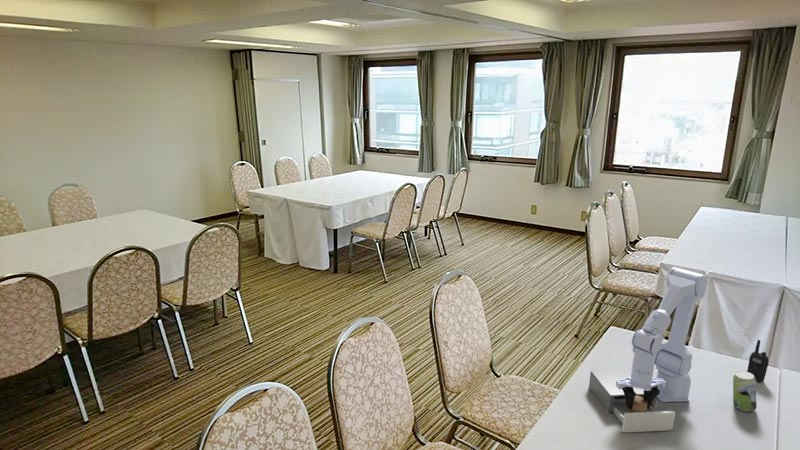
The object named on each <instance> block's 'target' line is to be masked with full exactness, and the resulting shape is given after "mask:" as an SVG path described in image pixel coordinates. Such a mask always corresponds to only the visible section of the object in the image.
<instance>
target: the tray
mask: <svg viewBox="0 0 800 450" xmlns="http://www.w3.org/2000/svg"><path fill="white" fill-rule="evenodd" d="M612 413H613V414H614V415H615V416H616V418H617V419H618V420H619V421H620V423H621V424H622V427H621V431H622V433H639V432H656V431H657V432H659V431H661V432H662V431H673V427H674V422H675V416H676V412H675V411H674V410H664V411H663V410H661V411H659V410H658V411H657V410H654V409H653V408H652V406H651V405H650V406H649V408H648V409H647V410H646V412H633V413H630V412H629V411H628V407H627V406H626V400H625V397H614V403H613V410H612Z"/></svg>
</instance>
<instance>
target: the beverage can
mask: <svg viewBox="0 0 800 450" xmlns="http://www.w3.org/2000/svg"><path fill="white" fill-rule="evenodd" d="M732 376H733V377H732V380H733V381H732V395H733V396H732V401H733V402H732V403H733V406H734V407H736V408H737V409H739V410H740V411H743V412H752V411H754V410H756V409H757V388H758V387H757V383H758V382H757V381H756V379H755V377H754V375H753V374H752V373H749V372H747V370H746V371H745V370H739V371H736V372H735V373H734V374H733V375H732Z"/></svg>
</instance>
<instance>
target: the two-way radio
mask: <svg viewBox="0 0 800 450" xmlns="http://www.w3.org/2000/svg"><path fill="white" fill-rule="evenodd" d="M760 345H761V339H757V342H756V346H755V350H754V351H753V352H751V354H750V355H749V359H748V365H747V370H746V372H749V373H752V374H753V375H754V377H755V379H756V381H757V383H759V384H760V383H764V382H765V377H766V374H767V370H768V366H769V357H768V356H767V353H766V351H762V352H760V347H761V346H760Z"/></svg>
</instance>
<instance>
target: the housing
mask: <svg viewBox="0 0 800 450" xmlns="http://www.w3.org/2000/svg"><path fill="white" fill-rule="evenodd" d="M589 373H590V374H589V375H590V376H589V384H588V388H589V389H590V391H591V392H592V393H593V395H594V396H595V397H596V399H597V400H598V401H599V403H600V404H601V406H602V407H603V408H604V409H605V410H606V412H607V413H608V414H612V413H613V411H612V410H613V403H614V398H624V397H625V395H624V392H623V390H622V389H618V388H617V387H616V380H621V379H625V378H628V377H631V373H632V368H624V369H623V368H622V369H602V370H601V369H599V370H598V369H596V370H594V369H593V370H590V372H589ZM633 389H634V392H635V393H636V396H641V397H643V396H644V390H643V389H640V388H634V387H633ZM657 398H658V397H657V396H656V397H655V398H654V400H653V401H652V403H651V404H650V405H651V406H652V408H653V409H654V410H655V409H656V404H657V403H656V402H657ZM655 411H656V410H655Z"/></svg>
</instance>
